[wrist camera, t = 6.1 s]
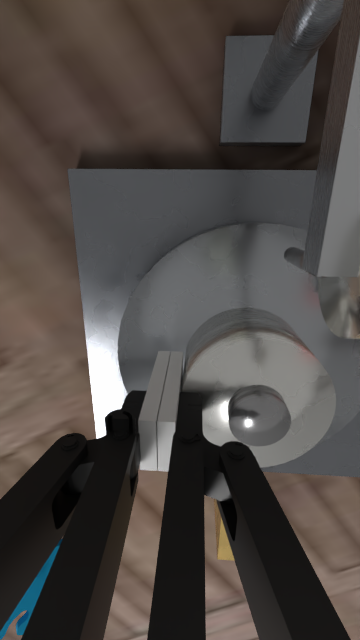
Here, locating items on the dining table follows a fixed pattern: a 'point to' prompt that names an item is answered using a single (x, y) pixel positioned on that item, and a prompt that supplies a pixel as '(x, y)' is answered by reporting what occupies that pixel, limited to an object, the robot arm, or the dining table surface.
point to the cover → (258, 385)
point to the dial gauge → (291, 129)
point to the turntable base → (156, 241)
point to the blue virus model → (30, 597)
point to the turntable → (230, 293)
